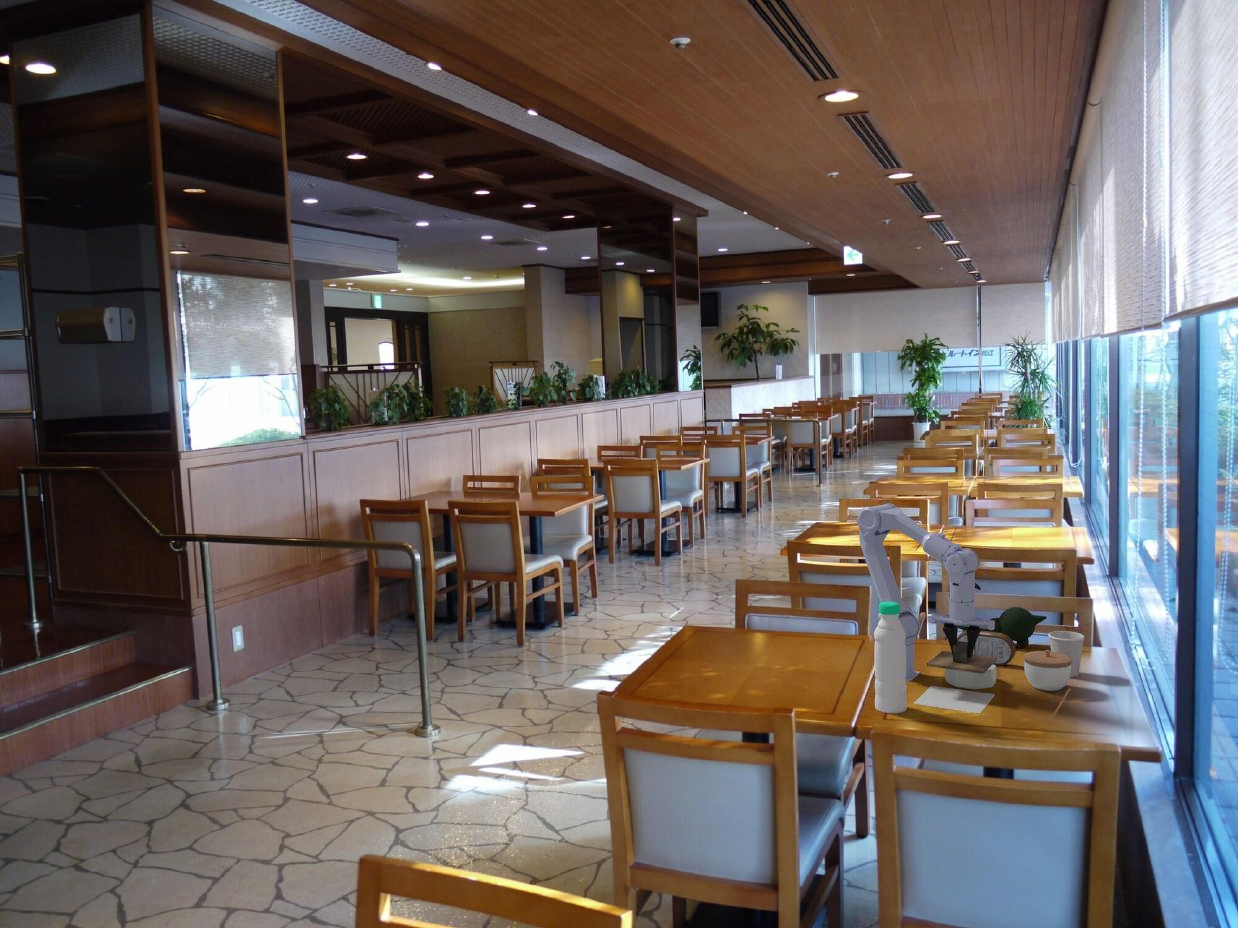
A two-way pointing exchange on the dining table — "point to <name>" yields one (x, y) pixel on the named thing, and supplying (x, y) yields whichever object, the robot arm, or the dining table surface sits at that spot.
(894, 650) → the water bottle
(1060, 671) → the lidded jar
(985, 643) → the tin
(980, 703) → the mat
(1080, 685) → the dining table surface
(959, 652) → the lid
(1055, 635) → the dixie cup
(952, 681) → the bowl
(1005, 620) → the toy figurine
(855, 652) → the dining table surface
